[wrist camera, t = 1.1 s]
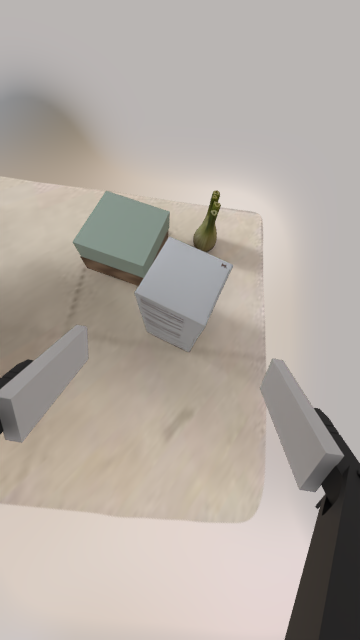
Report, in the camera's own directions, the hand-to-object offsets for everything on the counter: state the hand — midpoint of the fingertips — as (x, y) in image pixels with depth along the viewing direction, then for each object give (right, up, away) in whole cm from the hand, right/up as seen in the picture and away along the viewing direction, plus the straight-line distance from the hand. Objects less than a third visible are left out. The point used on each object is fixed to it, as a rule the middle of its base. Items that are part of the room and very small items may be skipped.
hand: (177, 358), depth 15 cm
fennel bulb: (+5, +19, +32) cm, 38 cm away
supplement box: (0, +2, +26) cm, 26 cm away
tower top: (-10, +18, +27) cm, 34 cm away
